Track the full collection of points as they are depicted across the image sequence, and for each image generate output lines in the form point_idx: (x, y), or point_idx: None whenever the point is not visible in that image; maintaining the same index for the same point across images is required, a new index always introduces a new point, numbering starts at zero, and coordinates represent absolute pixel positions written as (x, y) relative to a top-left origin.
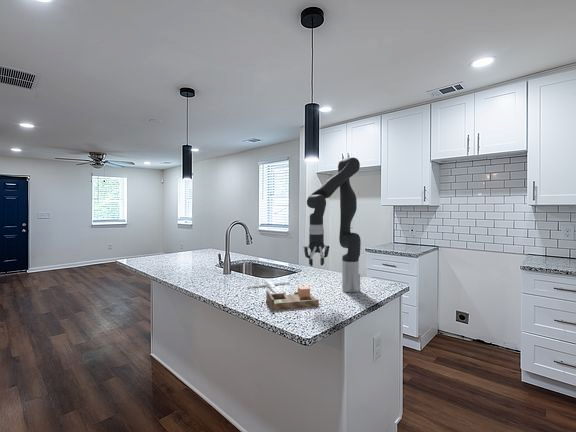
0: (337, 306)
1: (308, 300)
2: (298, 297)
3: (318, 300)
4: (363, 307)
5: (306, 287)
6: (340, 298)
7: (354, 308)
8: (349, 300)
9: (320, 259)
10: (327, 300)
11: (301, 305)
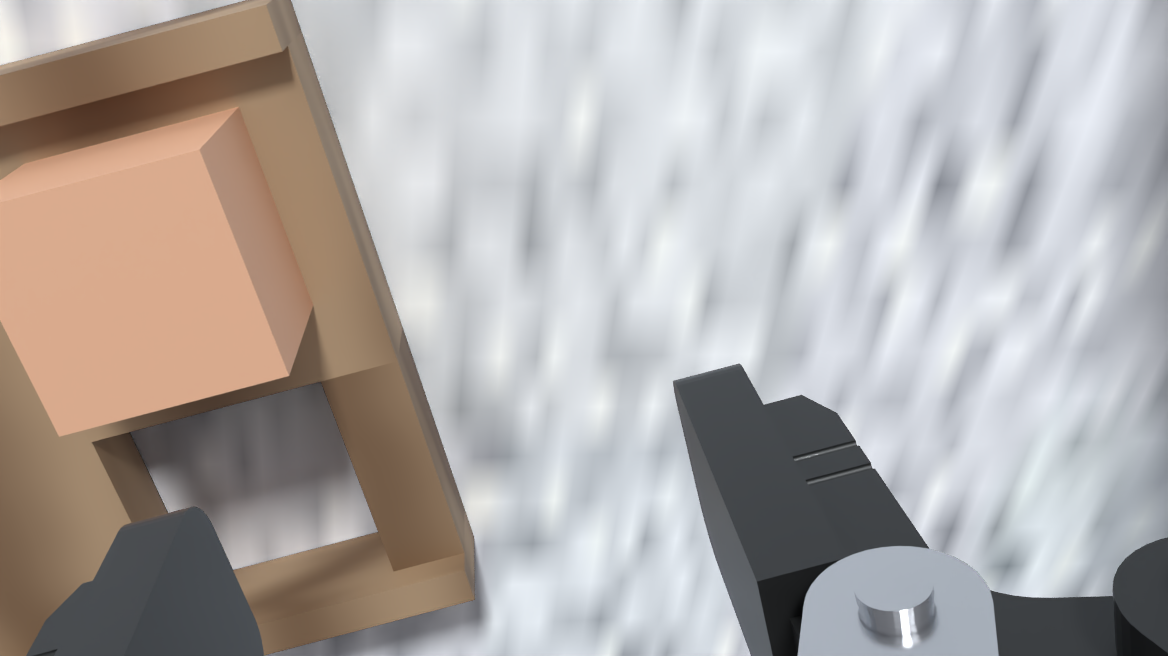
0: None
1: (287, 637)
2: None
3: (470, 592)
4: None
5: (192, 273)
6: (936, 134)
7: None
8: (1058, 254)
9: (735, 541)
10: (662, 256)
11: None
